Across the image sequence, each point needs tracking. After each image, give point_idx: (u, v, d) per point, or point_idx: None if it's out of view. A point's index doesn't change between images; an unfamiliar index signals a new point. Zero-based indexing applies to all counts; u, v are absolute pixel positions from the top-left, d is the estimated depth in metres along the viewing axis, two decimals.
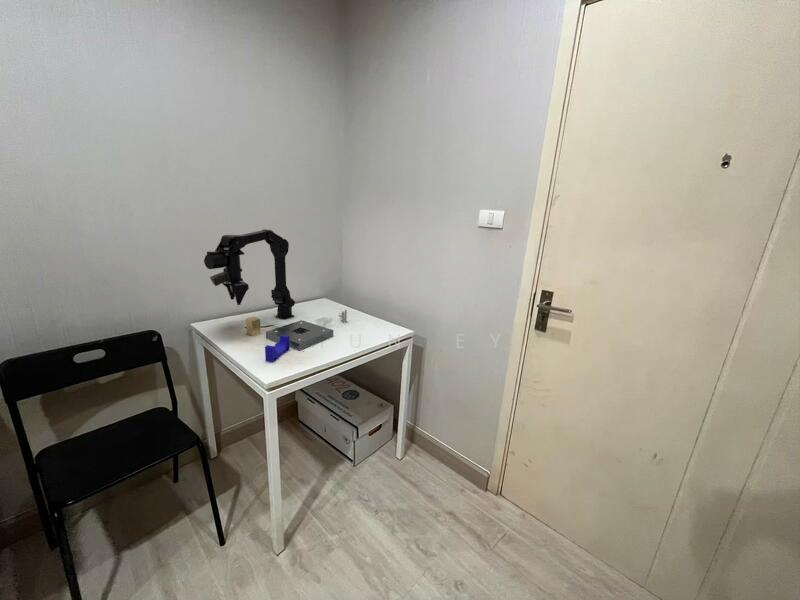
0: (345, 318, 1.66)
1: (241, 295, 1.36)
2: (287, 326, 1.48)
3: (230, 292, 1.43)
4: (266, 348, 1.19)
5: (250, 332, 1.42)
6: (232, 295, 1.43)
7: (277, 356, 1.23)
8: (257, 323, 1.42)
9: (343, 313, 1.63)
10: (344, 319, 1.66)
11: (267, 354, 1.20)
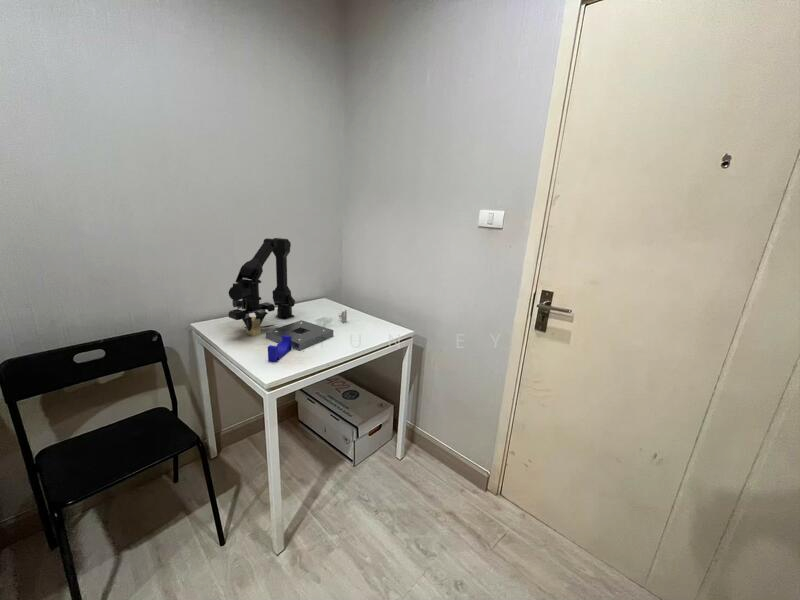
0: (345, 318, 1.66)
1: (247, 322, 1.39)
2: (287, 326, 1.48)
3: None
4: (269, 348, 1.19)
5: (250, 332, 1.42)
6: None
7: (280, 356, 1.23)
8: (257, 323, 1.42)
9: (343, 313, 1.63)
10: (344, 319, 1.65)
11: (270, 354, 1.20)
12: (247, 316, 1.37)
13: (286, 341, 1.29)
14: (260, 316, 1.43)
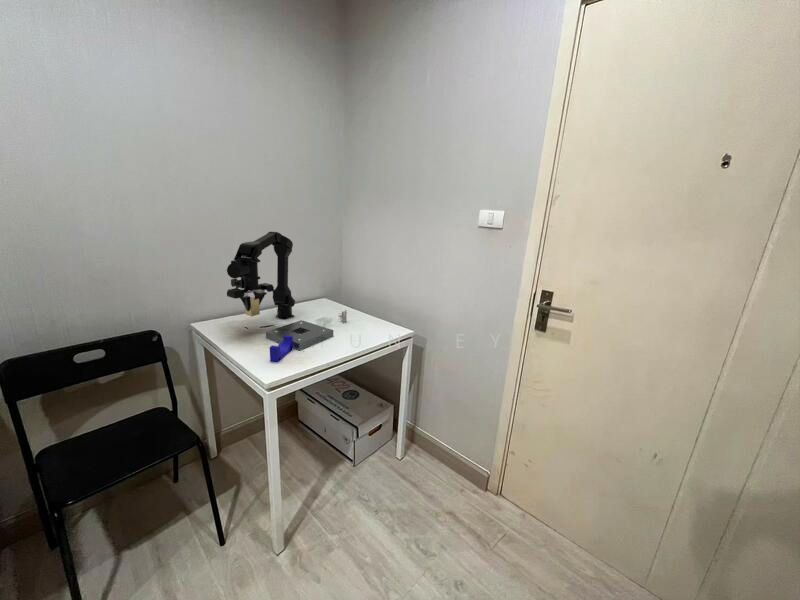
0: (345, 318, 1.66)
1: (245, 302, 1.37)
2: (287, 326, 1.48)
3: None
4: (271, 348, 1.19)
5: (249, 312, 1.39)
6: None
7: (281, 356, 1.23)
8: (256, 303, 1.40)
9: (343, 313, 1.63)
10: (344, 319, 1.65)
11: (272, 354, 1.20)
12: (246, 295, 1.35)
13: (287, 341, 1.29)
14: (259, 296, 1.41)
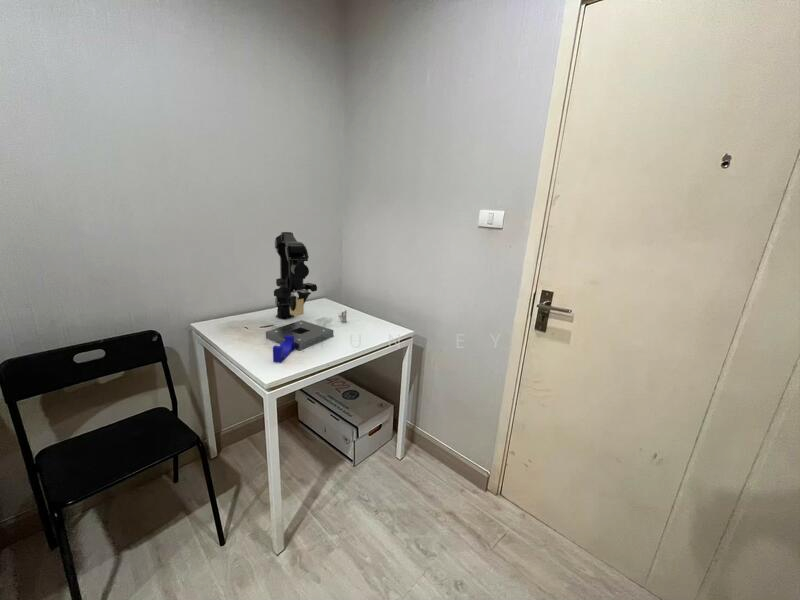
0: (345, 318, 1.66)
1: (291, 301, 1.36)
2: (287, 326, 1.48)
3: None
4: (274, 348, 1.19)
5: (293, 312, 1.39)
6: None
7: (284, 356, 1.23)
8: (301, 303, 1.39)
9: (343, 313, 1.63)
10: (344, 319, 1.65)
11: (275, 354, 1.20)
12: (292, 295, 1.34)
13: (289, 341, 1.29)
14: (303, 296, 1.40)
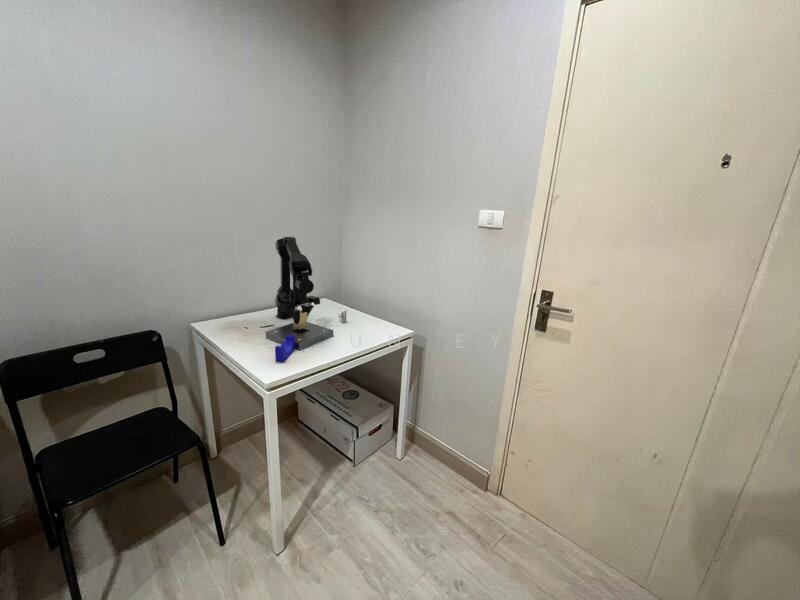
0: (345, 318, 1.66)
1: (295, 315, 1.38)
2: (287, 326, 1.48)
3: None
4: (276, 348, 1.19)
5: (297, 325, 1.40)
6: None
7: (286, 356, 1.23)
8: (304, 316, 1.41)
9: (343, 313, 1.62)
10: (344, 319, 1.65)
11: (277, 354, 1.20)
12: (296, 309, 1.36)
13: (290, 341, 1.29)
14: (307, 309, 1.42)
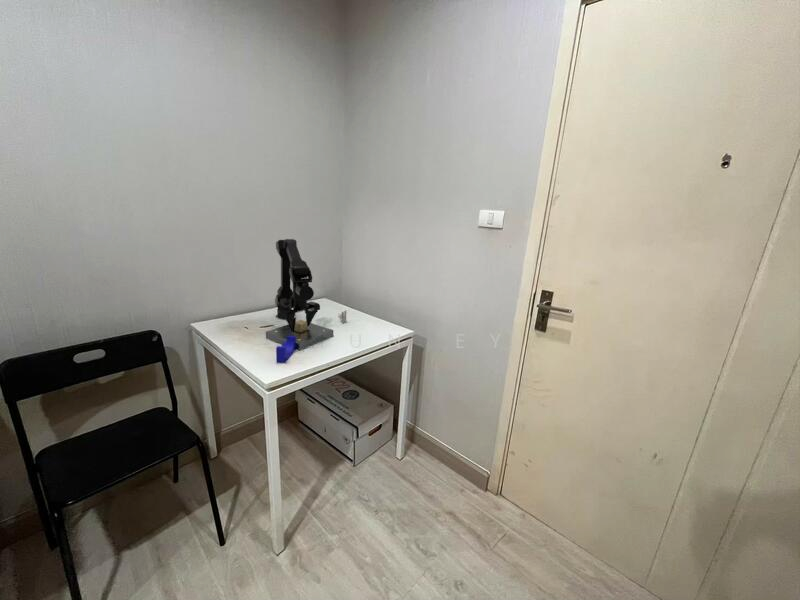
0: (345, 318, 1.66)
1: (291, 323, 1.37)
2: (287, 326, 1.48)
3: (306, 318, 1.46)
4: (277, 349, 1.19)
5: None
6: (307, 322, 1.46)
7: (287, 356, 1.23)
8: (305, 327, 1.42)
9: (343, 313, 1.62)
10: (344, 319, 1.65)
11: (278, 355, 1.19)
12: None
13: (291, 341, 1.29)
14: (311, 314, 1.45)
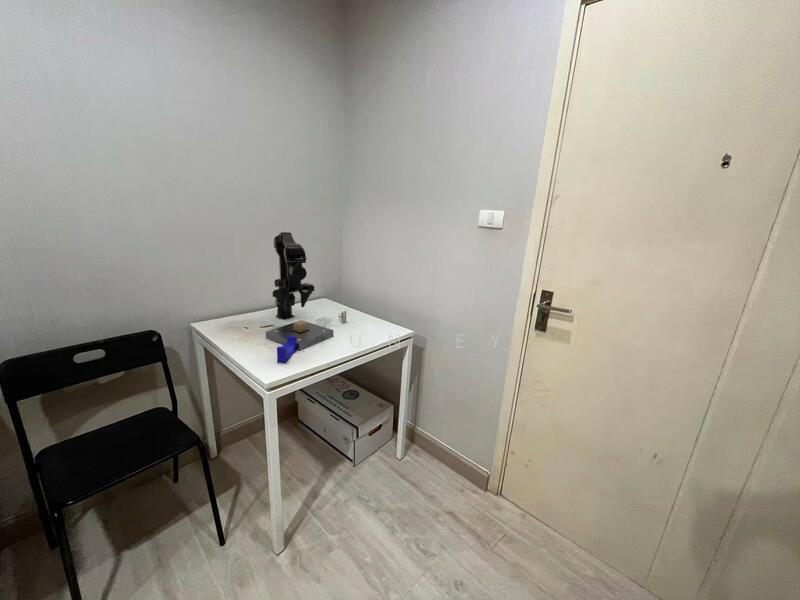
0: (345, 319, 1.65)
1: (285, 303, 1.38)
2: (287, 326, 1.48)
3: (301, 299, 1.48)
4: (278, 349, 1.19)
5: None
6: (302, 303, 1.48)
7: (288, 357, 1.23)
8: (305, 327, 1.42)
9: (343, 314, 1.62)
10: (344, 320, 1.65)
11: (279, 355, 1.19)
12: None
13: (292, 342, 1.29)
14: (305, 295, 1.46)
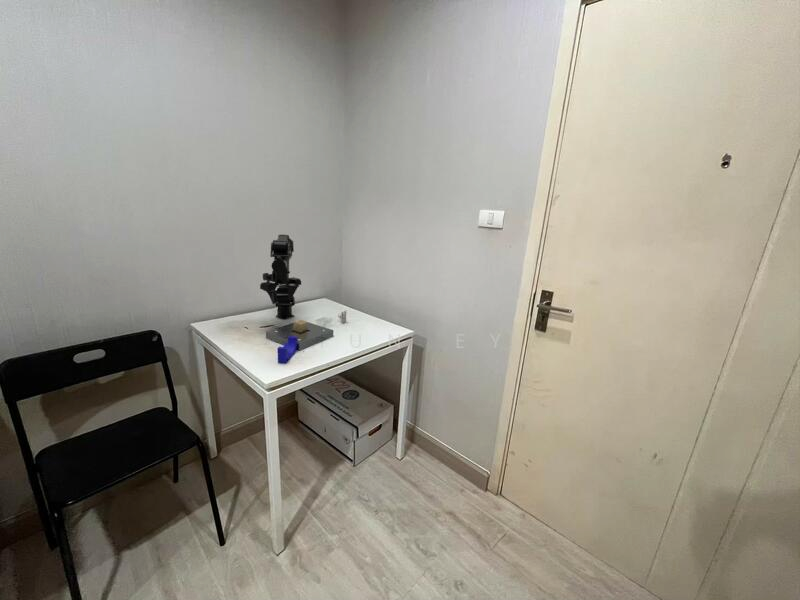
0: (345, 319, 1.65)
1: (272, 295, 1.45)
2: (287, 326, 1.48)
3: (289, 293, 1.55)
4: (279, 350, 1.18)
5: None
6: (289, 296, 1.55)
7: (289, 357, 1.22)
8: (304, 327, 1.42)
9: (343, 314, 1.62)
10: (344, 320, 1.65)
11: (280, 356, 1.19)
12: None
13: (293, 342, 1.28)
14: (292, 288, 1.54)
